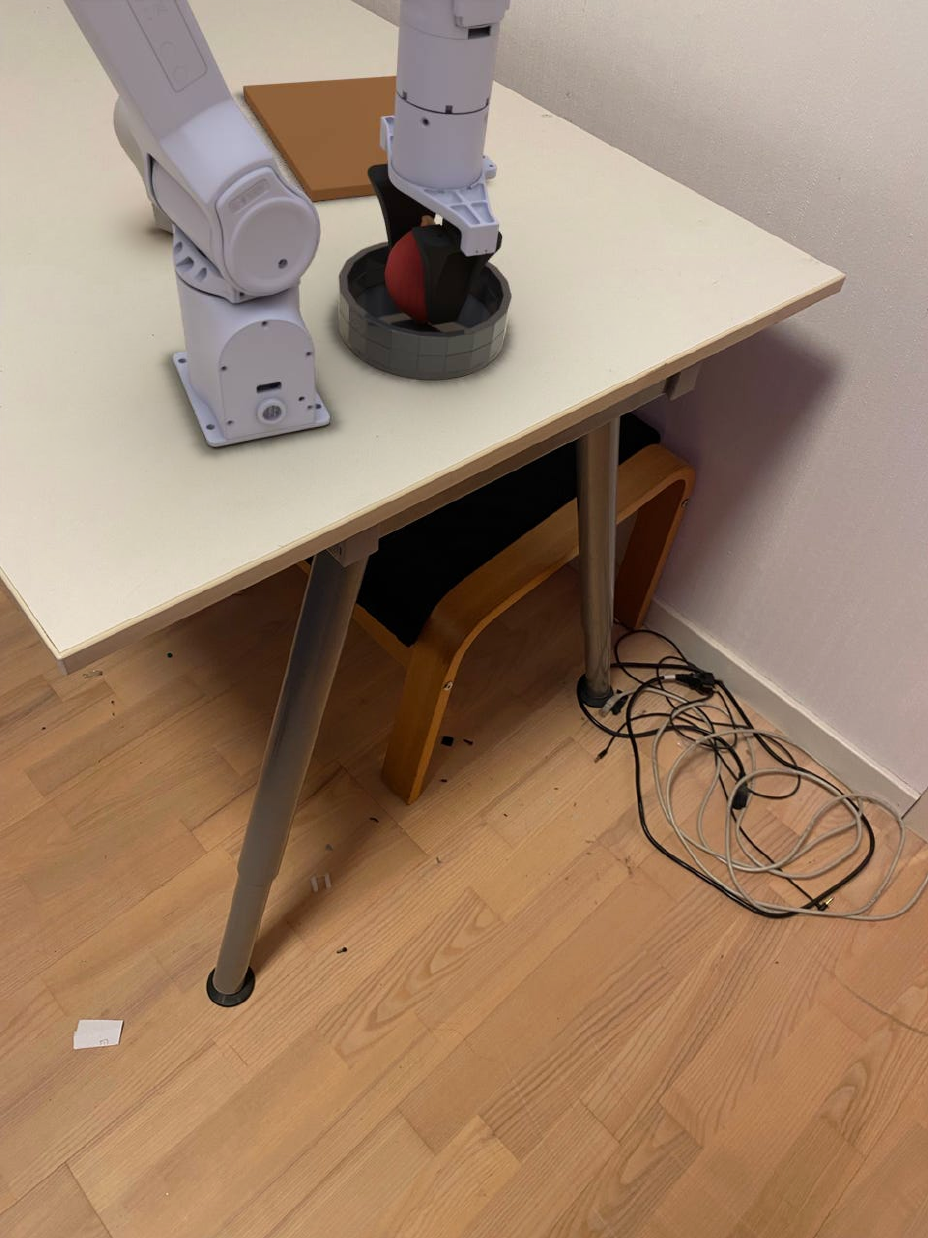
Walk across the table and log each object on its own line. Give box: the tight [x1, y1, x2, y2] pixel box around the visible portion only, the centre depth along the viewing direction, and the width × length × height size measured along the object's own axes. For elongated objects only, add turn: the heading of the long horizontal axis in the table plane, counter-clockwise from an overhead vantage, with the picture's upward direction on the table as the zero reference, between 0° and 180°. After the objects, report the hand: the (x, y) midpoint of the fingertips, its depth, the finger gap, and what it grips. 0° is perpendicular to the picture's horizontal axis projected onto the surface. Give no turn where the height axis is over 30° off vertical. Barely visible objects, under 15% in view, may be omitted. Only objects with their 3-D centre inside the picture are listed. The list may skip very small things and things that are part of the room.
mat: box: [242, 75, 397, 202], centre depth 85 cm, size 20×16×1 cm
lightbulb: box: [112, 95, 173, 234], centre depth 68 cm, size 6×6×11 cm
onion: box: [385, 216, 437, 324], centre depth 64 cm, size 6×6×8 cm
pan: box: [337, 241, 513, 381], centre depth 66 cm, size 12×12×4 cm
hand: (425, 295), depth 66 cm, fingers closed on onion, 6 cm apart
